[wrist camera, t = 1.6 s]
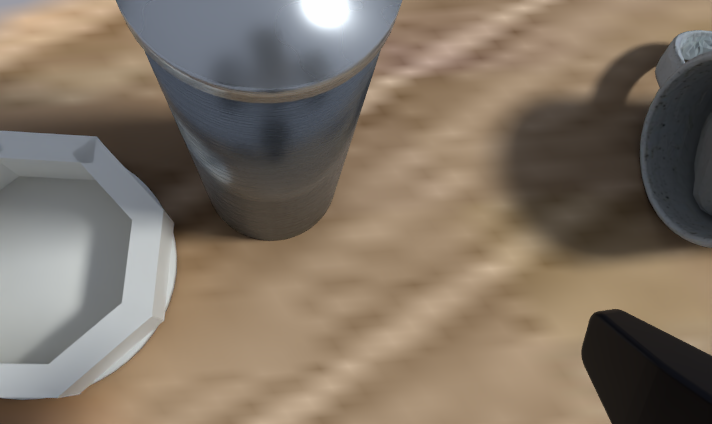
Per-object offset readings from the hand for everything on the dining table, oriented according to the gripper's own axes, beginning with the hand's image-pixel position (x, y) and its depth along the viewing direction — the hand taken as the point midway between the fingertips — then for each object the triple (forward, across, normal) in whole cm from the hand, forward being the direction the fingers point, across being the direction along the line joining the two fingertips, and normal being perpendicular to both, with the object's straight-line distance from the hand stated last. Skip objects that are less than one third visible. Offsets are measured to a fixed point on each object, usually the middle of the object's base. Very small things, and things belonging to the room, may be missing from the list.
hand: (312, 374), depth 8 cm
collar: (+13, +8, +6) cm, 16 cm away
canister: (+14, 0, +4) cm, 15 cm away
